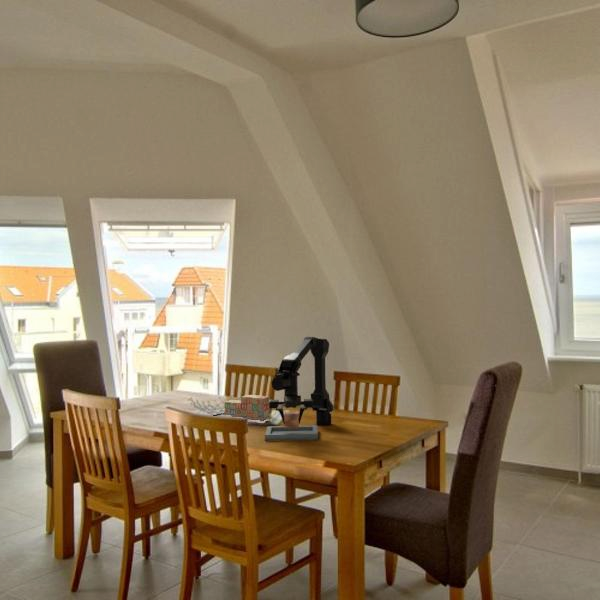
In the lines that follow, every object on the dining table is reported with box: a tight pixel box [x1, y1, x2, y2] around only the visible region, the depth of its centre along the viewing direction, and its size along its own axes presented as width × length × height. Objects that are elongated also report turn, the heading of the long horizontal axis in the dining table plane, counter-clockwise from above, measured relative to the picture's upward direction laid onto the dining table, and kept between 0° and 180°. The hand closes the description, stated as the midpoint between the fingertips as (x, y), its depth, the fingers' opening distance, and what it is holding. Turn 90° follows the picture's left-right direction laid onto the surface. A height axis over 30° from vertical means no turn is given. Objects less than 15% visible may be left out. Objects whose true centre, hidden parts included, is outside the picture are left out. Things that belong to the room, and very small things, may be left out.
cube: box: [283, 410, 300, 428], centre depth 255 cm, size 6×6×6 cm
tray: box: [264, 424, 319, 441], centre depth 255 cm, size 22×16×2 cm
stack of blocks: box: [224, 394, 270, 421], centre depth 287 cm, size 21×6×12 cm, turn 66°
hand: (291, 423), depth 255 cm, fingers closed on cube, 6 cm apart
